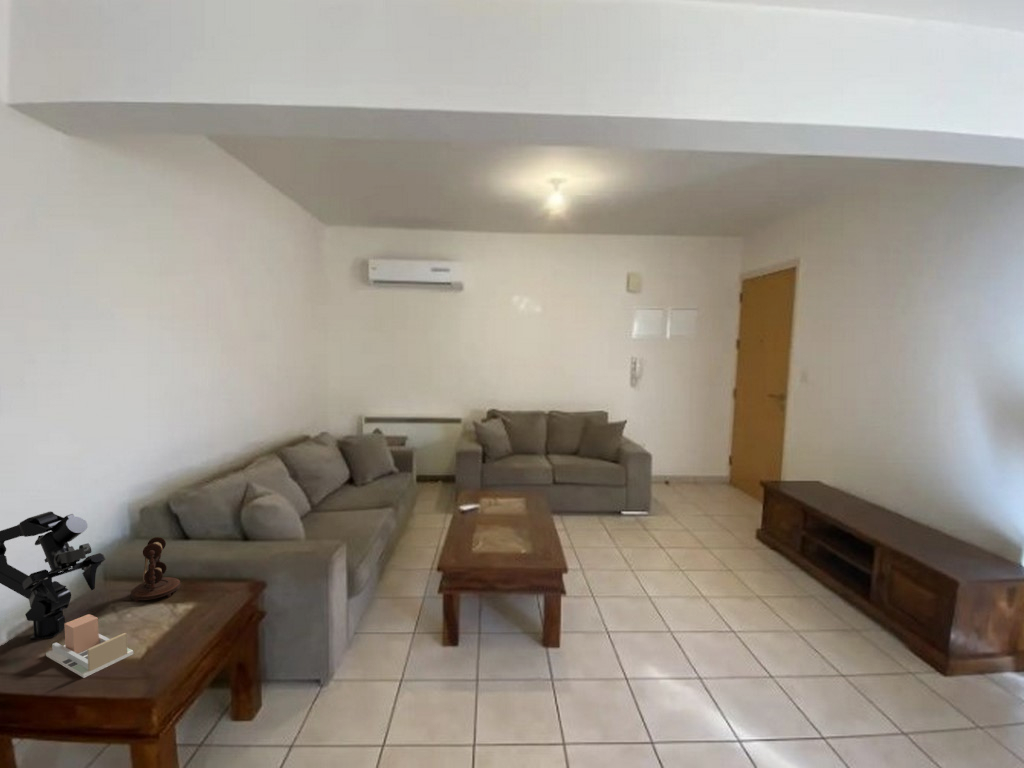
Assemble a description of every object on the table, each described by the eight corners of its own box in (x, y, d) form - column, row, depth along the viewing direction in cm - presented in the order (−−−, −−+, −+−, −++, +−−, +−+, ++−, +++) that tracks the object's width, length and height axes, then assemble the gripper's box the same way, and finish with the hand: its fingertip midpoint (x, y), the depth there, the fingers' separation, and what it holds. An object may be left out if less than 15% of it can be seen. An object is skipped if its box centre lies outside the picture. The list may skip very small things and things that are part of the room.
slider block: (65, 650, 145) (64, 623, 144) (90, 639, 150) (89, 613, 150) (74, 654, 143) (72, 628, 142) (99, 643, 148) (97, 618, 148)
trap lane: (46, 656, 144) (44, 632, 144) (95, 635, 155) (94, 613, 154) (83, 677, 135) (82, 653, 134) (133, 654, 146) (132, 631, 145)
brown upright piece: (136, 588, 185) (134, 536, 184) (183, 581, 191) (181, 530, 190) (125, 607, 172) (123, 551, 170) (176, 599, 178) (174, 544, 176)
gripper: (31, 547, 142) (51, 597, 139) (104, 528, 159) (123, 572, 156) (13, 565, 145) (32, 614, 142) (87, 544, 163) (105, 587, 160)
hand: (76, 595), depth 150 cm, fingers open, 9 cm apart
